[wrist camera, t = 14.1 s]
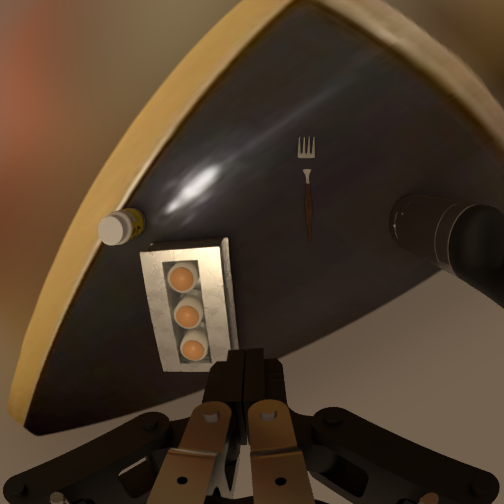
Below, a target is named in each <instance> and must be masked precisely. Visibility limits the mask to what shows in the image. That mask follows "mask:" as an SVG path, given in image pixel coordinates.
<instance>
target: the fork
mask: <svg viewBox="0 0 504 504" xmlns="http://www.w3.org/2000/svg"><path fill="white" fill-rule="evenodd" d="M314 157H315V147H314V139H313V148H312V154H310V137H309V141H308V151H307V154H306V153H305V137H304V143H303V153H302V154H301V152H300V137H299V145H298V158H314ZM303 172H304V173H305V175H306V191H305V214H306V221H307V230H308V240H309V244H310V239H311V223H312V198H311V191H310V184H309V174H310V172H311V170H310V169H304V170H303Z"/></svg>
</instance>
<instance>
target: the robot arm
mask: <svg viewBox="0 0 504 504" xmlns="http://www.w3.org/2000/svg"><path fill="white" fill-rule="evenodd" d="M390 231H391V234H392V237H393V239H394V240H395V242H396V243H397V244H398V245H399V246H401V247H402V248H404V249H406V250H408V251H410V252H412V253H414V254H415V255H417V256H419V257H421V258H423V259H425V260H427V261H429V262H430V263H432V264H434V265H436V266H438V267H440V268H441V269H443V270H445V271H447V272H449V273H451V274H453V275H454V276H456V277H458V278H459V279H461V280H463V281H465V282H466V283H468V284H469V285H470V286H472V287H474V288H475V289H477V290H479V291H480V292H482V293H483V294H485V295H486V296H487V297H489V298H491V299H492V300H493V301H494V302H496V303H497V304H498V305H500V306H501V307H502V308H504V214H503V213H502V212H501V211H499V210H498V209H496V208H494V207H491V206H486V205H481V204H474V203H469V202H462V201H456V200H450V199H444V198H438V197H431V196H425V195H418V194H410V195H407V196H405V197H403V198H401V199H400V200H399V201H398V202H397V203H396V205H395V206H394V208H393V210H392V212H391V216H390ZM247 435H248V442H249V445H250V450H251V453H250V459H251V472H252V484H253V496H249V497H245V498H240V499H233V496H234V490H235V484H236V479H237V473H238V467H239V461H240V459H239V454H240V445H247ZM144 457H145V458H146V460H145V461H144V462H142V463H140V464H139V465H137V466H135V467H133V468H132V469H130V470H128V471H127V472H125V473H123V474H121V475H120V476H118V475H119V473H120V472H121V471H122V470H124V469H125V468H127V467H129V466H130V465H132V464H134V463H136V462H137V461H139V460H140V459H142V458H144ZM307 471H309V472H310V474H311V476H312V477H314V478H315V479H316V480H318V481H319V482H321V483H322V484H324V485H325V486H327V487H328V488H330V489H331V490H333V491H334V492H336V493H337V494H339V495H341V496H342V497H344V498H345V499H347V500H348V501H350V502H352V503H353V504H492V502H493V501H494V500H495V499H496V497H497V496H498V493H499V488H500V487H499V482H498V480H497V478H496V477H495V476H494V475H493V474H491V473H490V472H487V471H484V470H481V469H479V468H476V467H473V466H470V465H468V464H465V463H462V462H460V461H457V460H455V459H452V458H450V457H447V456H445V455H442V454H440V453H437V452H435V451H432V450H430V449H428V448H425V447H423V446H420V445H418V444H416V443H414V442H412V441H409V440H407V439H405V438H403V437H401V436H398V435H396V434H394V433H392V432H390V431H388V430H386V429H384V428H382V427H379V426H377V425H375V424H373V423H371V422H369V421H367V420H365V419H363V418H361V417H359V416H357V415H355V414H353V413H351V412H349V411H347V410H345V409H343V408H339V407H328V408H324V409H321V410H319V411H318V412H316V413H315V415H314V416H306V415H301V414H298V413H295V412H294V411H292V410H291V409H290V408H289V407H288V405H287V400H286V391H285V382H284V374H283V367H282V364H281V363H280V361H279V360H278V359H277V358H273V359H264V348H252V349H247V350H246V349H233V350H228V354H227V360H226V361H216V363H215V364H214V365H213V366H212V367H211V368H210V371H209V375H208V379H207V383H206V388H205V392H204V396H203V400H202V404H200V405H198V406H197V407H196V408H195V409H194V410H193V412H192V414H191V416H190V417H188V418H185V419H180V420H175V421H169V418H168V417H167V416H166V415H164V414H162V413H159V412H147V413H144V414H142V415H139V416H137V417H135V418H134V419H132V420H130V421H128V422H126V423H124V424H123V425H121V426H119V427H117V428H115V429H113V430H111V431H109V432H107V433H106V434H104V435H102V436H100V437H98V438H96V439H94V440H92V441H90V442H88V443H86V444H84V445H82V446H80V447H78V448H76V449H74V450H71V451H69V452H67V453H65V454H63V455H61V456H59V457H57V458H54V459H52V460H50V461H48V462H45V463H43V464H41V465H39V466H36V467H34V468H32V469H29V470H27V471H25V472H22V473H20V474H17V475H15V476H13V477H11V478H9V479H8V480H7V481H6V483H5V484H4V487H3V494H4V497H5V499H6V500H7V501H8V502H9V503H10V504H328V503H326V502H323V501H319V500H315V499H314V496H313V492H312V488H311V484H310V480H309V477H308V473H307Z"/></svg>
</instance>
